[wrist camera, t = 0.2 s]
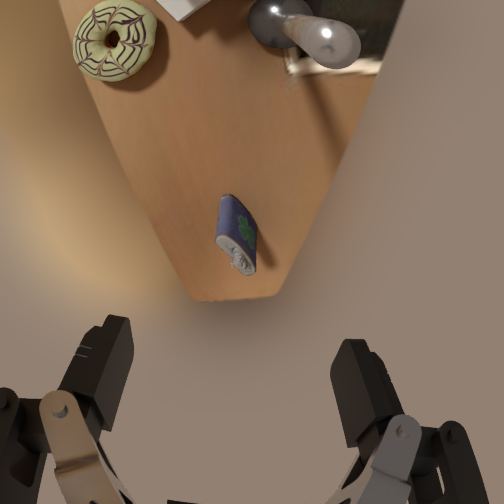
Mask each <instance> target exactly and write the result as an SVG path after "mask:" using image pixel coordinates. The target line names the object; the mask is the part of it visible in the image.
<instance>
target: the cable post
mask: <svg viewBox="0 0 504 504" xmlns="http://www.w3.org/2000/svg"><path fill="white" fill-rule="evenodd" d="M248 23H249V27H250V30H251V31H252V33H253V35H254V36H255V37H256V38H257V39H258V40H259V41H260V42H262V43H264V44H266V45H268V46H270V47H274V48H290V47H294V46H297V45H299V46H300V47H301V48H302V49H303V50H304V51H305V52H306V53H308V54H309V55H310V56H311V57H312V58H313V59H314V60H315V61H316V62H317V63H319V64H320V65H322V66H324V67H327V68H330V69H342V68H345V67H348V66H350V65H351V64H352V63H354V62H355V61H356V59H357V58H358V56H359V54H360V49H361V44H360V39H359V37H358V35H357V33H356V32H355V31H354V30H353V29H352V28H351V27H350V26H349V25H347V24H345V23H343V22H340V21H335V20H330V19H325V18H320V17H314V16H313V13H312V11H311V9H310V7H309V6H308V5H307V3H306V2H305V1H303V0H257V1H256V2H255V3H254V4H253V6H252V7H251V9H250V12H249V16H248Z"/></svg>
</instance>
